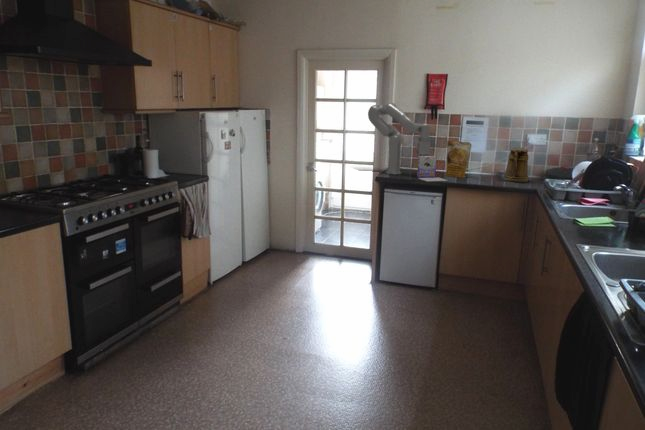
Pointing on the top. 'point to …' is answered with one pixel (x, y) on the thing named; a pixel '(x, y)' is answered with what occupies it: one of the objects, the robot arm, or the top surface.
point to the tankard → (517, 166)
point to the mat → (432, 179)
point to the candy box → (426, 166)
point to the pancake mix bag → (457, 158)
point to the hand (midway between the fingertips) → (422, 162)
